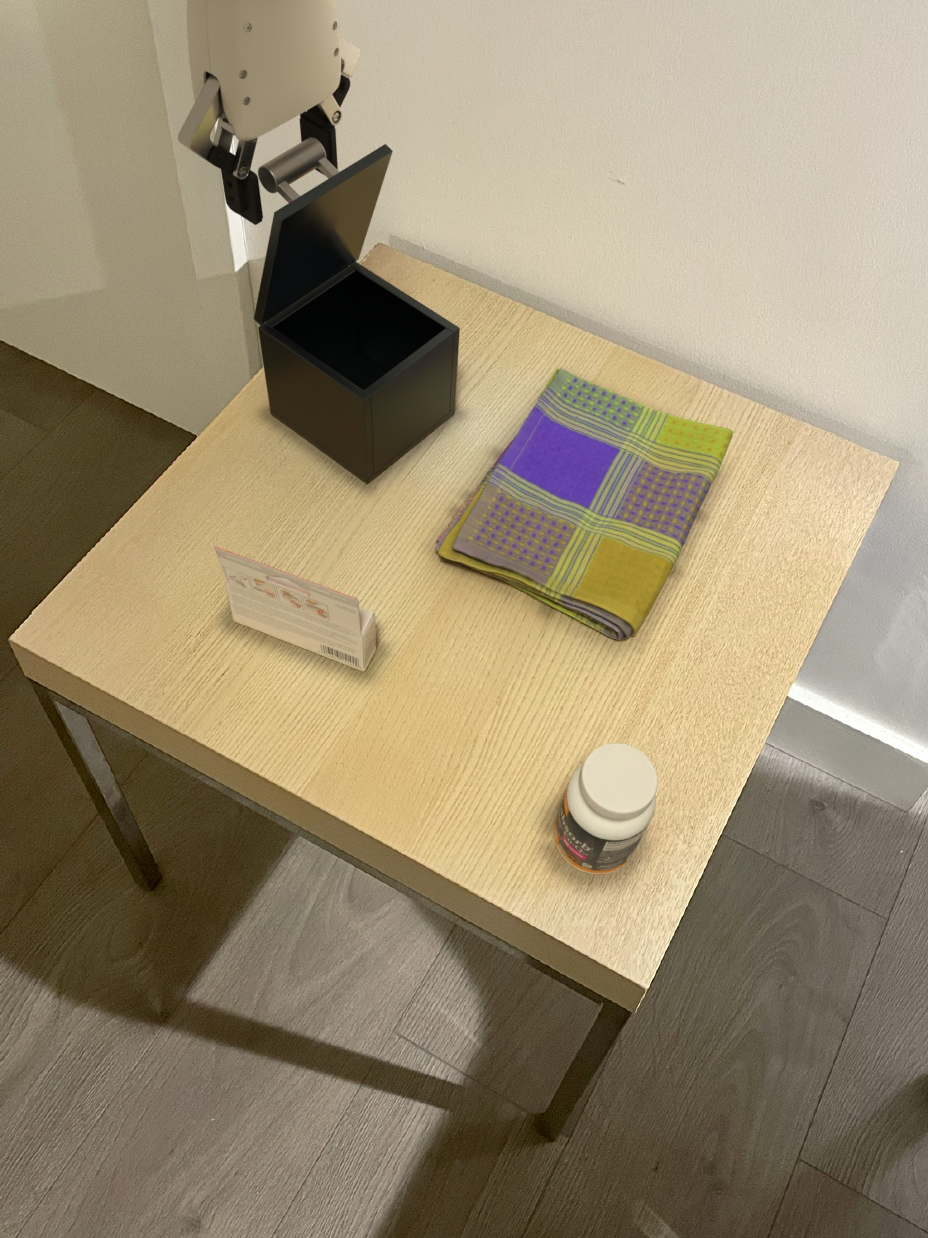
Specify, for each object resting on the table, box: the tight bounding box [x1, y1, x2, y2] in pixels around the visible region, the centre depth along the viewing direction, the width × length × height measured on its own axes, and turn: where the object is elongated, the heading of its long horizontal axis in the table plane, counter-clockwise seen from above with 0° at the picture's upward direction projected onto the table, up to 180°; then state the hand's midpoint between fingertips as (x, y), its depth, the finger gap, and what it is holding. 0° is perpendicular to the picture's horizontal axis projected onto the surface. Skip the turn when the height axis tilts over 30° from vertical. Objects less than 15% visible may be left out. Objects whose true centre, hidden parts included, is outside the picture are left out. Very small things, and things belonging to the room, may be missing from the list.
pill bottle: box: [553, 742, 659, 876], centre depth 69 cm, size 6×6×10 cm
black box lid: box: [253, 137, 393, 326], centre depth 81 cm, size 12×11×5 cm
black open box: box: [257, 261, 461, 485], centre depth 89 cm, size 12×11×10 cm
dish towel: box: [434, 367, 734, 641], centre depth 88 cm, size 18×24×3 cm
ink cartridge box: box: [214, 546, 377, 673], centre depth 77 cm, size 2×11×10 cm, turn 67°
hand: (283, 190), depth 80 cm, fingers open, 7 cm apart
